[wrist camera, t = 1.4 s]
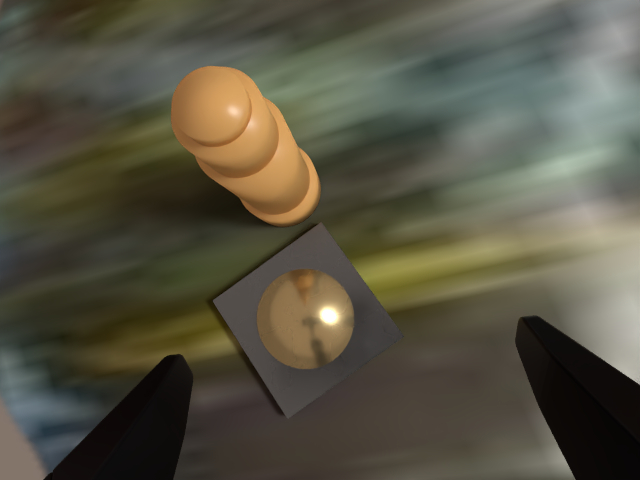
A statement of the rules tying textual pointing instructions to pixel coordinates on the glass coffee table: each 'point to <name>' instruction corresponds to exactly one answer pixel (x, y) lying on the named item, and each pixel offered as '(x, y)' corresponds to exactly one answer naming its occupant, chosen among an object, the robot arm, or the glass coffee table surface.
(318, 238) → the plate
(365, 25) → the glass coffee table surface
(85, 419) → the glass coffee table surface
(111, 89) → the glass coffee table surface
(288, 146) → the tan bulged column
